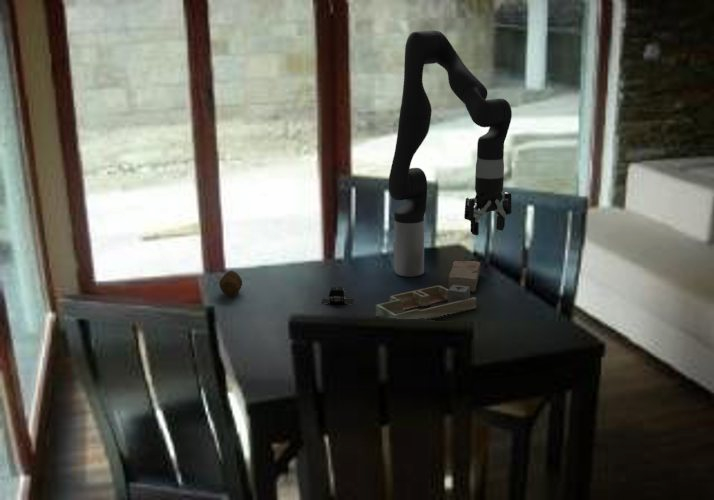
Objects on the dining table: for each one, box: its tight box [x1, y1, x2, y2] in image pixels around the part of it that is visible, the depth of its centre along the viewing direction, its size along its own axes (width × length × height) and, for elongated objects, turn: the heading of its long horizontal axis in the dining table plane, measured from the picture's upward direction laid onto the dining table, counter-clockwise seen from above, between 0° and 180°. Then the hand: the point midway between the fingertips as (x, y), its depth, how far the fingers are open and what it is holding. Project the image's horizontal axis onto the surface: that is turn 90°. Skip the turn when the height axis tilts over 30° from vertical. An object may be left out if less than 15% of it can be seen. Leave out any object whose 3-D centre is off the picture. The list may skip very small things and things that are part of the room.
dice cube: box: [447, 285, 471, 304], centre depth 232 cm, size 5×5×5 cm
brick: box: [448, 260, 481, 293], centre depth 251 cm, size 17×8×5 cm, turn 168°
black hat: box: [320, 286, 355, 306], centre depth 237 cm, size 12×7×5 cm, turn 86°
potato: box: [219, 270, 243, 298], centre depth 244 cm, size 7×12×7 cm, turn 9°
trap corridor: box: [375, 284, 477, 319], centre depth 229 cm, size 15×27×4 cm, turn 120°
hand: (487, 232), depth 226 cm, fingers open, 8 cm apart
